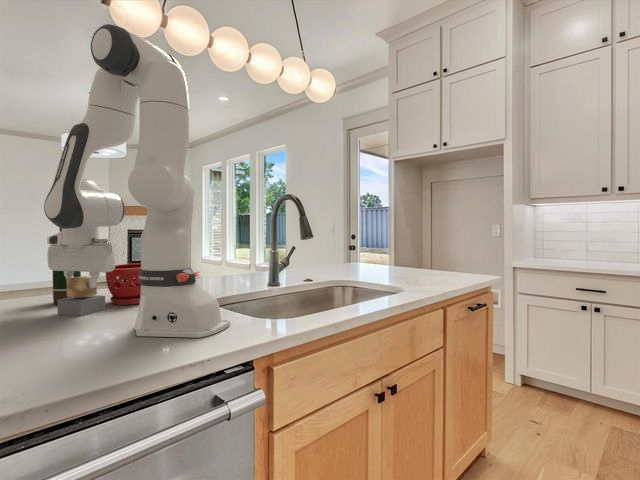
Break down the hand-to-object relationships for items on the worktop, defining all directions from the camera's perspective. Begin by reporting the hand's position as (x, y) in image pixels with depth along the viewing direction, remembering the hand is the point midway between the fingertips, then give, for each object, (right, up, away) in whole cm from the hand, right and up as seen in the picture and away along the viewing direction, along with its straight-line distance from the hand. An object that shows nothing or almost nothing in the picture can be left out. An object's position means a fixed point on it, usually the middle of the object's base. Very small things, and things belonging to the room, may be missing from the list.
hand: (81, 287), depth 103 cm
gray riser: (0, -7, 0) cm, 7 cm away
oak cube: (0, -2, 0) cm, 2 cm away
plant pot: (+6, -7, +14) cm, 16 cm away
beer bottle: (-13, -7, +12) cm, 19 cm away
